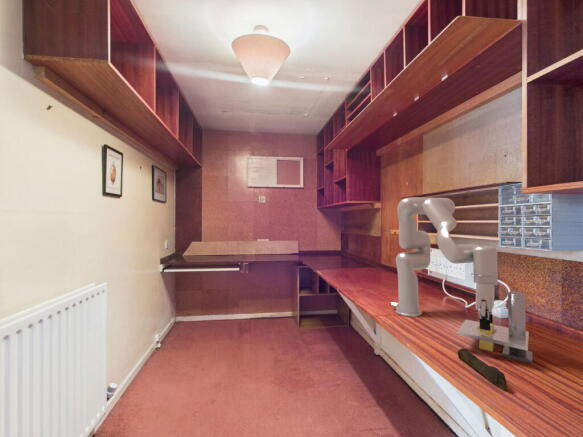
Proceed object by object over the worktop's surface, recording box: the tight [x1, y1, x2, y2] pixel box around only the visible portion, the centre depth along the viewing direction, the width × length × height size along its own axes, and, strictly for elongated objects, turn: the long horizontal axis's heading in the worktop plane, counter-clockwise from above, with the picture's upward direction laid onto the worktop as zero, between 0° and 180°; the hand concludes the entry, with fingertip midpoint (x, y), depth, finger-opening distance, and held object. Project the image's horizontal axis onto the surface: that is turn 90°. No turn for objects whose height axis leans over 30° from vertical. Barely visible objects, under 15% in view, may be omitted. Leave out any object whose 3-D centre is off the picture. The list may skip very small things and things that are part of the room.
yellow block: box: [478, 323, 495, 352], centre depth 106 cm, size 4×4×9 cm
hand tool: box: [457, 347, 507, 392], centre depth 89 cm, size 19×4×4 cm, turn 179°
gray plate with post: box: [457, 291, 533, 364], centre depth 104 cm, size 21×16×22 cm
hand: (486, 326), depth 105 cm, fingers open, 6 cm apart
